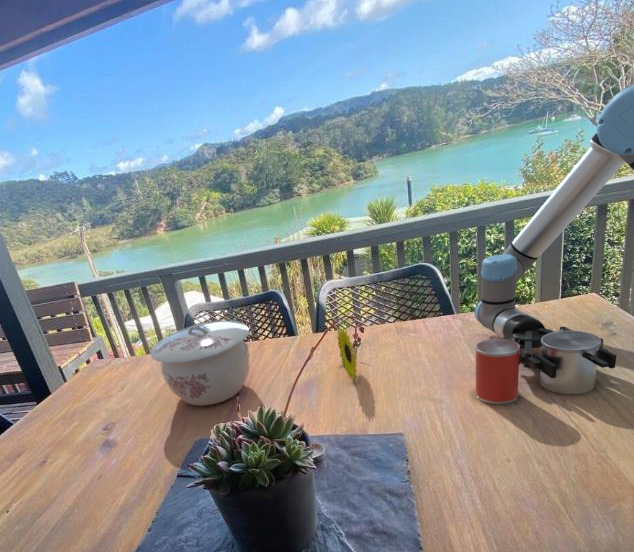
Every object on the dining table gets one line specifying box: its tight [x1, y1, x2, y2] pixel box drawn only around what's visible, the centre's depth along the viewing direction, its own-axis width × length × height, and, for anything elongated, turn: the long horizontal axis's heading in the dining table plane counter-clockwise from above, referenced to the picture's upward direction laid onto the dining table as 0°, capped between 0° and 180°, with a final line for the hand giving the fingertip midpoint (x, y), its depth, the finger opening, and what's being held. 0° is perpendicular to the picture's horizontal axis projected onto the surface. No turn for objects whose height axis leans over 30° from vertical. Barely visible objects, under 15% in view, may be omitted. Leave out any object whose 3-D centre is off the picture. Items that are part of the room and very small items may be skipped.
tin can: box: [474, 338, 521, 405], centre depth 90 cm, size 8×8×12 cm
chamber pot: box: [149, 320, 250, 407], centre depth 120 cm, size 28×28×21 cm
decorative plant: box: [336, 326, 362, 382], centre depth 118 cm, size 15×6×30 cm
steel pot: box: [539, 330, 609, 395], centre depth 87 cm, size 10×14×10 cm, turn 177°
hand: (583, 367), depth 85 cm, fingers open, 10 cm apart
